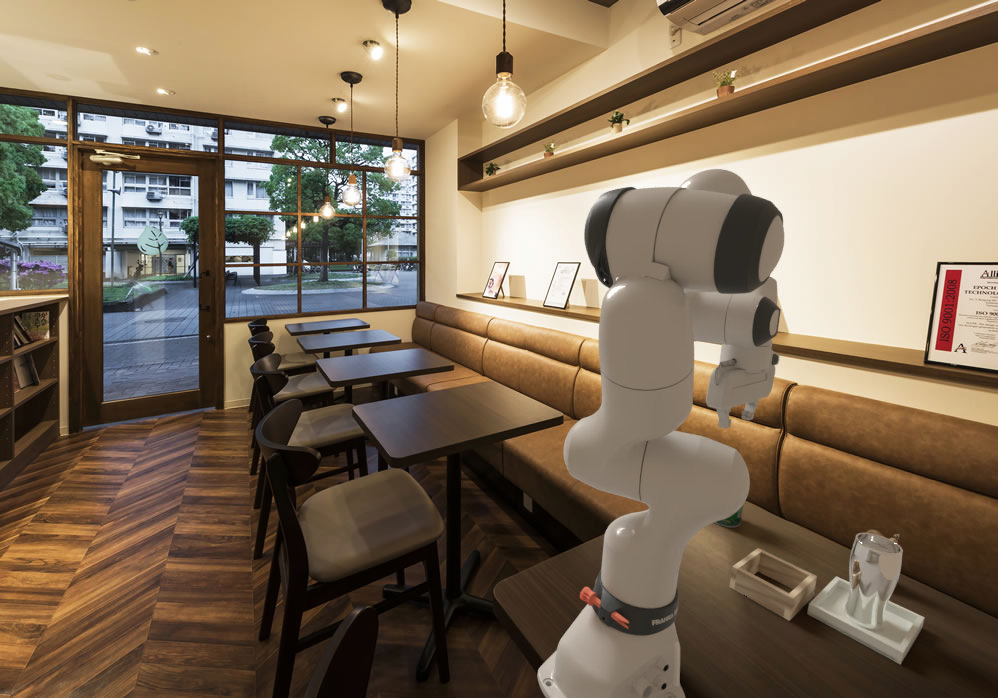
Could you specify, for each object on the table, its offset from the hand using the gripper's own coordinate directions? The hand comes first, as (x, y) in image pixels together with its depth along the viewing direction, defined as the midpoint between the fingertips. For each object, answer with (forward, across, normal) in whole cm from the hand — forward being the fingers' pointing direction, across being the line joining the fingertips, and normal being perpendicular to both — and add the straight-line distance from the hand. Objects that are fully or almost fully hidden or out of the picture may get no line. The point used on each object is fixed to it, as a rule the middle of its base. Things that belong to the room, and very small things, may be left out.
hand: (735, 423), depth 97 cm
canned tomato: (+31, +18, +8) cm, 37 cm away
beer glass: (+31, +5, -25) cm, 40 cm away
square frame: (+31, -1, -11) cm, 33 cm away
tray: (+31, +5, -25) cm, 40 cm away
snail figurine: (+31, +21, -22) cm, 44 cm away
